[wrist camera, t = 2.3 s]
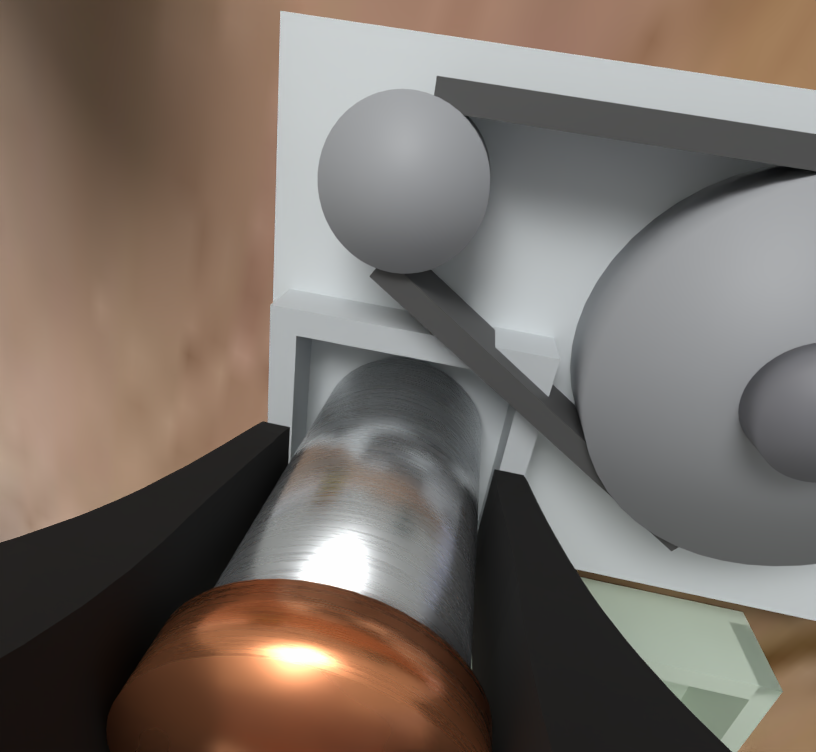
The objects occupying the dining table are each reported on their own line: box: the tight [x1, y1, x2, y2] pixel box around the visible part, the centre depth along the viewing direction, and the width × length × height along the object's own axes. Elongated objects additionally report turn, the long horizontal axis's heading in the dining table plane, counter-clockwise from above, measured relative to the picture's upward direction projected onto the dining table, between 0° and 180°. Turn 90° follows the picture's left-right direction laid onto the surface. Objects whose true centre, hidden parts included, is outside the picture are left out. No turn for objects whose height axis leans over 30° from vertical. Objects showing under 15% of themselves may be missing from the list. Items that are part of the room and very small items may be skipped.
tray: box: [471, 577, 783, 752], centre depth 17 cm, size 11×9×2 cm
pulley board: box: [268, 11, 816, 621], centre depth 11 cm, size 16×12×4 cm
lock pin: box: [106, 359, 492, 752], centre depth 10 cm, size 5×5×8 cm
